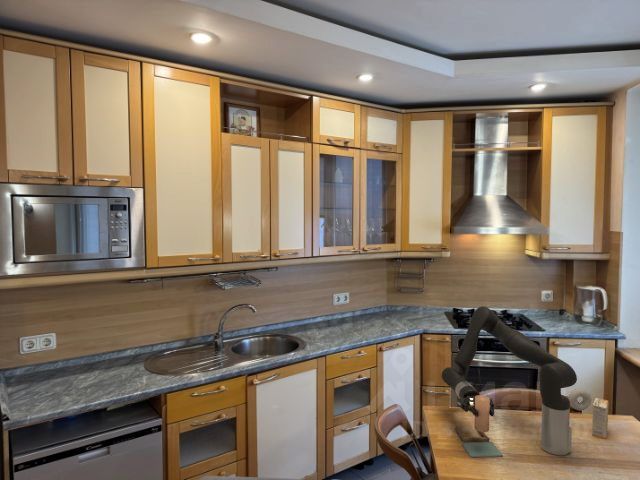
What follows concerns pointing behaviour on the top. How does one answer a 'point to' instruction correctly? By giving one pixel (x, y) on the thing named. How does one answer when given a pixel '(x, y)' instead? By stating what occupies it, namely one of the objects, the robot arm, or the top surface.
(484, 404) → the tall tan cylinder
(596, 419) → the supplement box
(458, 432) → the holder
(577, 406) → the grey round disc
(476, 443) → the mat
